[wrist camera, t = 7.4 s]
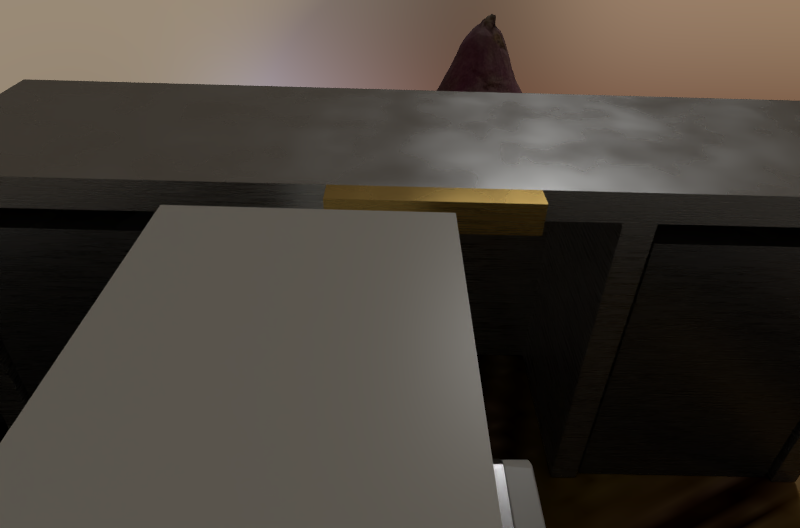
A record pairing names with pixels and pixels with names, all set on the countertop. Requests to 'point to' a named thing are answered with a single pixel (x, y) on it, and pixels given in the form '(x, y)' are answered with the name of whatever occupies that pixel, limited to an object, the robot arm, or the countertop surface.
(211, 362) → the tall grey upright block
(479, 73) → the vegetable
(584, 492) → the countertop surface
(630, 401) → the miniature grey desk
